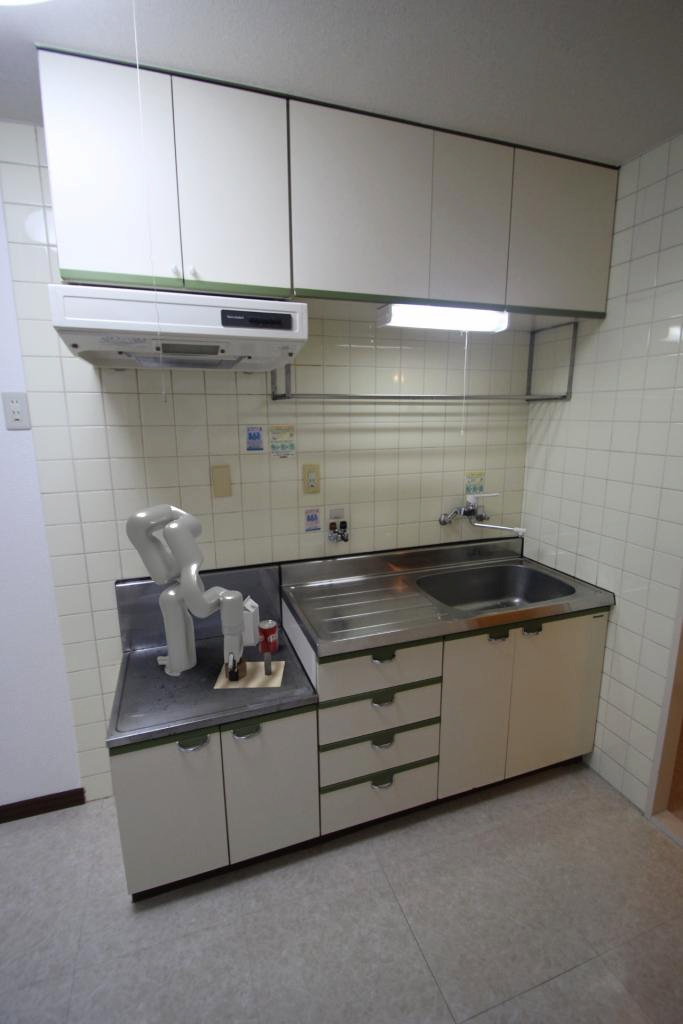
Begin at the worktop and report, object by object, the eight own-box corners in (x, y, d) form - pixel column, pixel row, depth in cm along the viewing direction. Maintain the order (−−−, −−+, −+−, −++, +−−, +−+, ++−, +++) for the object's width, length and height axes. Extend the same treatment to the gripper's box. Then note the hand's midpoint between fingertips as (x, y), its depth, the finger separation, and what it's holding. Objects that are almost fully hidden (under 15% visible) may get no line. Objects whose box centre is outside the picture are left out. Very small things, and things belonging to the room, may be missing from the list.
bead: (224, 680, 159) (223, 667, 158) (228, 669, 165) (227, 656, 164) (244, 679, 159) (243, 666, 158) (247, 668, 165) (247, 656, 164)
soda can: (280, 648, 182) (279, 620, 180) (276, 658, 175) (274, 628, 173) (262, 647, 183) (260, 619, 180) (257, 657, 176) (255, 628, 173)
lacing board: (213, 692, 154) (211, 668, 152) (224, 666, 170) (222, 643, 168) (280, 690, 155) (279, 666, 153) (285, 664, 170) (284, 642, 168)
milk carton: (237, 647, 184) (234, 602, 180) (244, 638, 191) (241, 594, 187) (254, 648, 183) (251, 603, 179) (260, 639, 190) (258, 595, 185)
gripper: (227, 616, 167) (230, 661, 170) (215, 639, 150) (219, 689, 153) (248, 615, 167) (251, 660, 171) (239, 639, 150) (242, 688, 154)
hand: (236, 674), depth 162 cm, fingers closed on bead, 6 cm apart
